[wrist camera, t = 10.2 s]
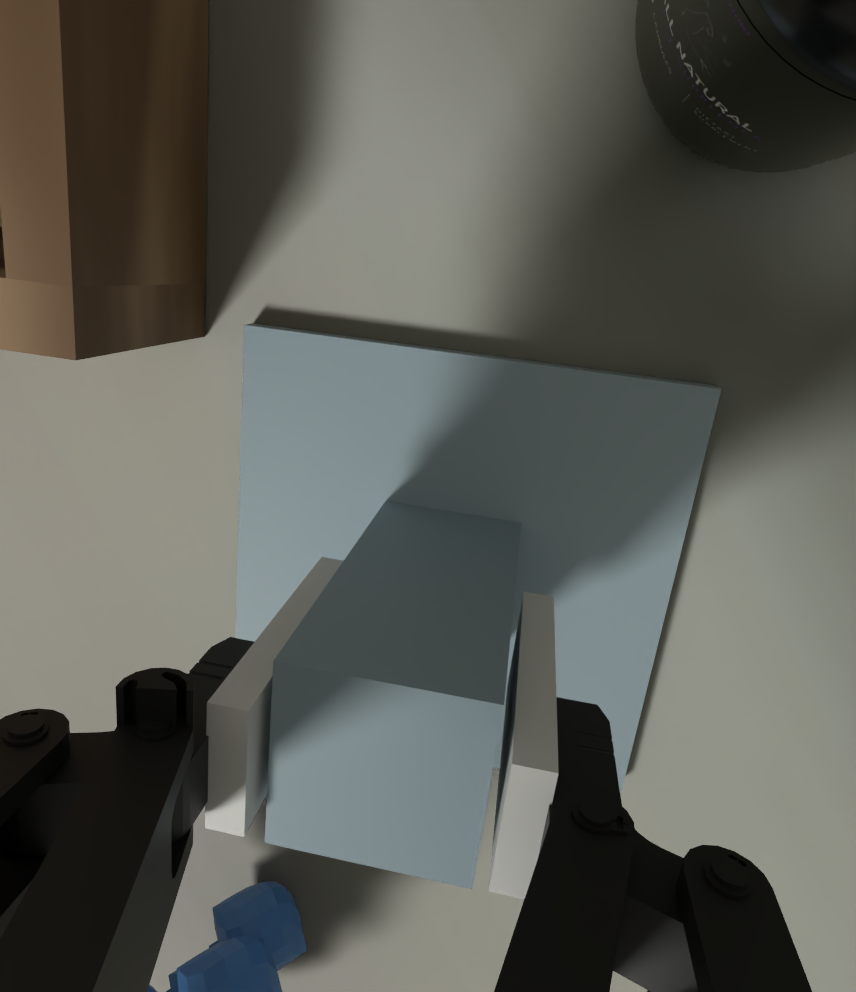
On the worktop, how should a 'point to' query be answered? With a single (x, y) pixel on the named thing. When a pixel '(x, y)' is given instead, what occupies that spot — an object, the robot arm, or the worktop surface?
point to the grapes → (246, 944)
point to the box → (102, 174)
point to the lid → (445, 570)
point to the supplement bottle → (753, 78)
